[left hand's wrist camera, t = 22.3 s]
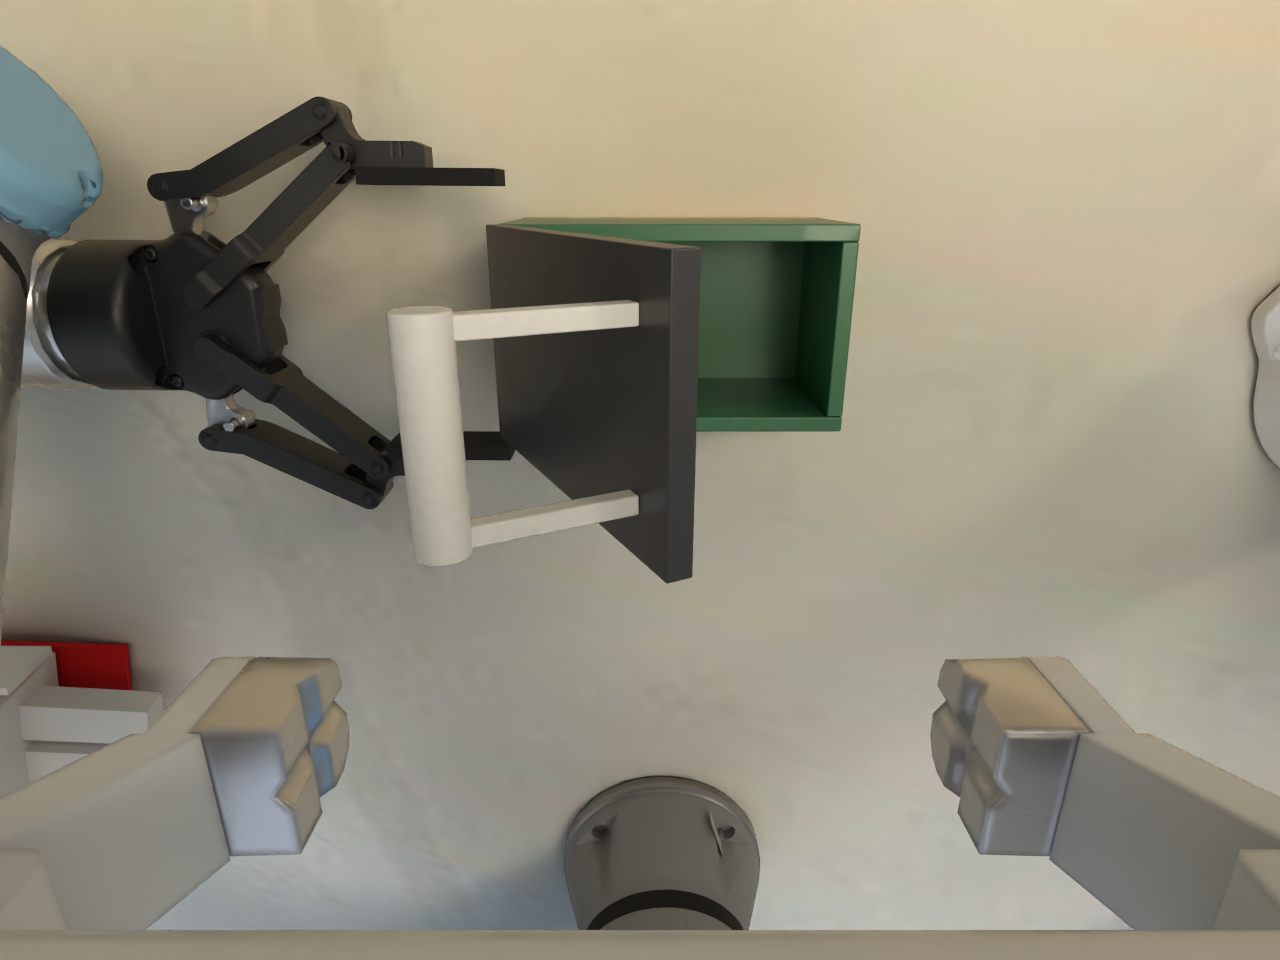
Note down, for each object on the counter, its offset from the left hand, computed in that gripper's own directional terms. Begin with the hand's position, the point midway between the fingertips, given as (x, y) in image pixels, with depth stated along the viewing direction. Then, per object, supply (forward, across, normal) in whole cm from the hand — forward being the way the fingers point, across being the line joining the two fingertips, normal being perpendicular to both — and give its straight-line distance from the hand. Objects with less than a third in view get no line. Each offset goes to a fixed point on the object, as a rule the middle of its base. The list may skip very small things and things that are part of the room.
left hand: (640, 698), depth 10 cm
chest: (+38, +2, 0) cm, 38 cm away
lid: (+21, -2, 0) cm, 21 cm away
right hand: (+31, -7, 0) cm, 32 cm away
